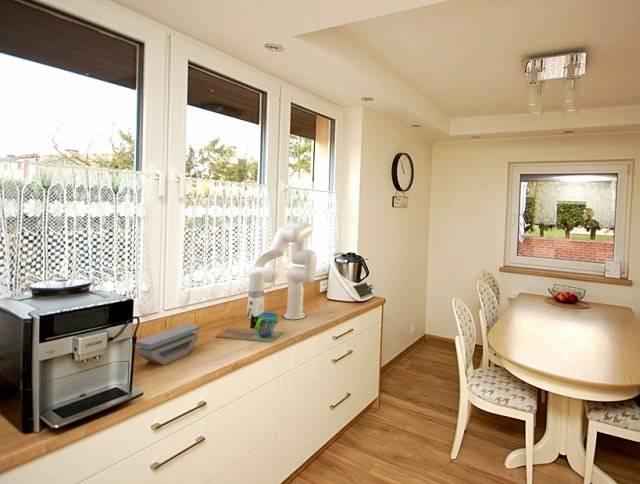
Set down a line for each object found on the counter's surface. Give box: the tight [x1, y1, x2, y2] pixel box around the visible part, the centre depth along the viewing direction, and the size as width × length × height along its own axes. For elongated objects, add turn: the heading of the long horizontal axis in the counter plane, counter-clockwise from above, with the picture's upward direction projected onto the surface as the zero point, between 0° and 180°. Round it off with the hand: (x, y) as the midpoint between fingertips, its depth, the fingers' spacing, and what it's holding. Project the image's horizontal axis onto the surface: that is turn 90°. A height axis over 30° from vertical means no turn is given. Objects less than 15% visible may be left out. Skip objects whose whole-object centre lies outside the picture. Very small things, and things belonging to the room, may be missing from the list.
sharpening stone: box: [135, 323, 201, 366], centre depth 157 cm, size 25×8×11 cm, turn 164°
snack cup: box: [254, 311, 280, 336], centre depth 191 cm, size 16×10×10 cm
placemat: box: [216, 327, 282, 343], centre depth 190 cm, size 13×29×1 cm, turn 85°
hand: (253, 328), depth 189 cm, fingers closed
